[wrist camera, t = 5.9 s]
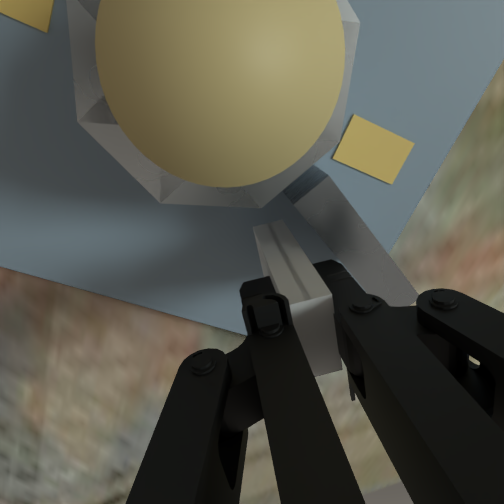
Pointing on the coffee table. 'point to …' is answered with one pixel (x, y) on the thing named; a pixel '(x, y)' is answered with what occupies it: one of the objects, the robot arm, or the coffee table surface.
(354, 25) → the collar
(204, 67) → the board
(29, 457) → the coffee table surface
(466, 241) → the coffee table surface
